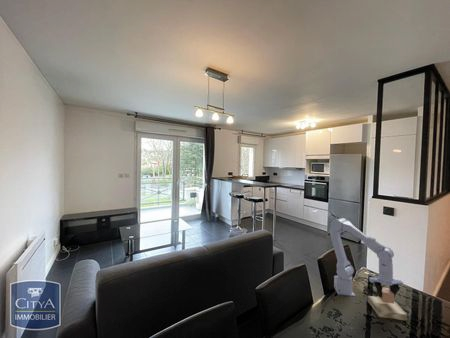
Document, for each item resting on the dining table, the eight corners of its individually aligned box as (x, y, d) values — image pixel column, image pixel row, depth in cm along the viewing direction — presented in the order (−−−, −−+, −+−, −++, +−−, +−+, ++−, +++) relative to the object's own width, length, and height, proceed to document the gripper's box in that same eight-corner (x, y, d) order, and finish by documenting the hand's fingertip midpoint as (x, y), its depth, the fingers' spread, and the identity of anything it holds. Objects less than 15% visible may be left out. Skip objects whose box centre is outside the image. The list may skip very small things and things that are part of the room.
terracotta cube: (383, 302, 102) (382, 292, 102) (377, 296, 106) (377, 286, 106) (394, 303, 100) (394, 293, 100) (388, 297, 105) (388, 288, 105)
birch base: (379, 316, 99) (379, 310, 99) (367, 301, 111) (367, 295, 111) (407, 320, 96) (407, 314, 96) (392, 304, 108) (392, 298, 108)
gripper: (373, 273, 101) (374, 300, 101) (407, 277, 98) (407, 304, 98) (367, 267, 108) (367, 291, 108) (398, 270, 105) (398, 295, 105)
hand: (386, 297), depth 103 cm, fingers closed on terracotta cube, 5 cm apart
